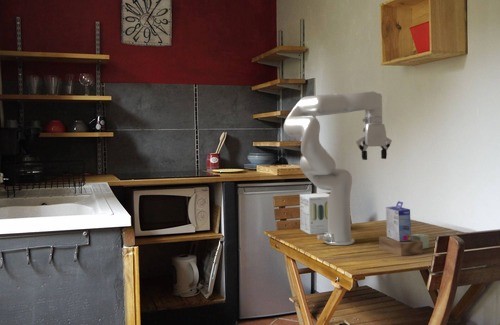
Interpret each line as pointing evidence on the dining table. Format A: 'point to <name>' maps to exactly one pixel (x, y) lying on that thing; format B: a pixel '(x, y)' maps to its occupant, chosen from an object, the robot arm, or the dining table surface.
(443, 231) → the dining table surface
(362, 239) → the dining table surface
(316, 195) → the supplement box
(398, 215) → the ink cartridge box
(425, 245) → the sage cube
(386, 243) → the walnut block
